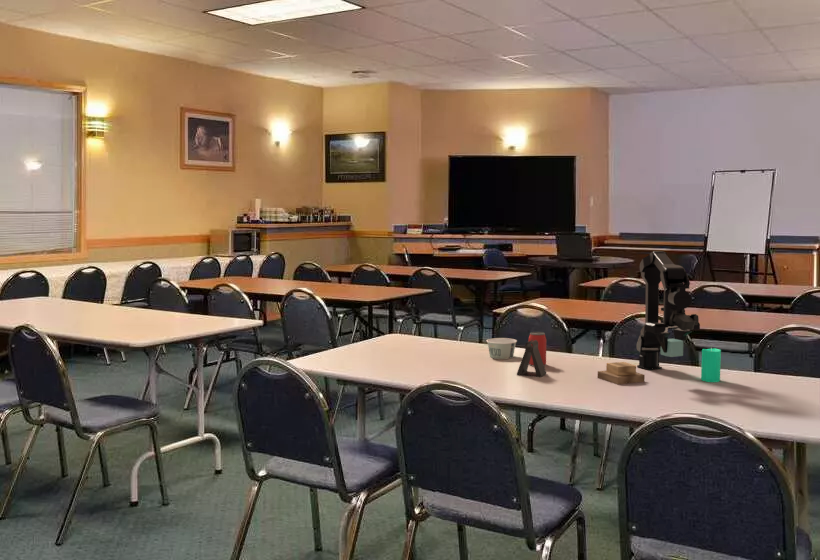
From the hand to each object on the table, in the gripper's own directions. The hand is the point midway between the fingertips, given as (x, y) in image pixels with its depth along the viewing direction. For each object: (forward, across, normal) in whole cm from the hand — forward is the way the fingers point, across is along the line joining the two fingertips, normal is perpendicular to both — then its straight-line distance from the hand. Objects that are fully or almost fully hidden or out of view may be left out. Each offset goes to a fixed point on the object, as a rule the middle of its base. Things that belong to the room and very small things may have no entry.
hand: (671, 351), depth 260 cm
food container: (+11, -27, +66) cm, 72 cm away
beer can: (+11, -23, +46) cm, 53 cm away
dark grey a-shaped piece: (+11, -34, +32) cm, 48 cm away
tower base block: (+11, -11, +12) cm, 20 cm away
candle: (+11, +16, -1) cm, 19 cm away
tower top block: (+8, -11, +12) cm, 18 cm away
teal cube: (+1, 0, 0) cm, 1 cm away
